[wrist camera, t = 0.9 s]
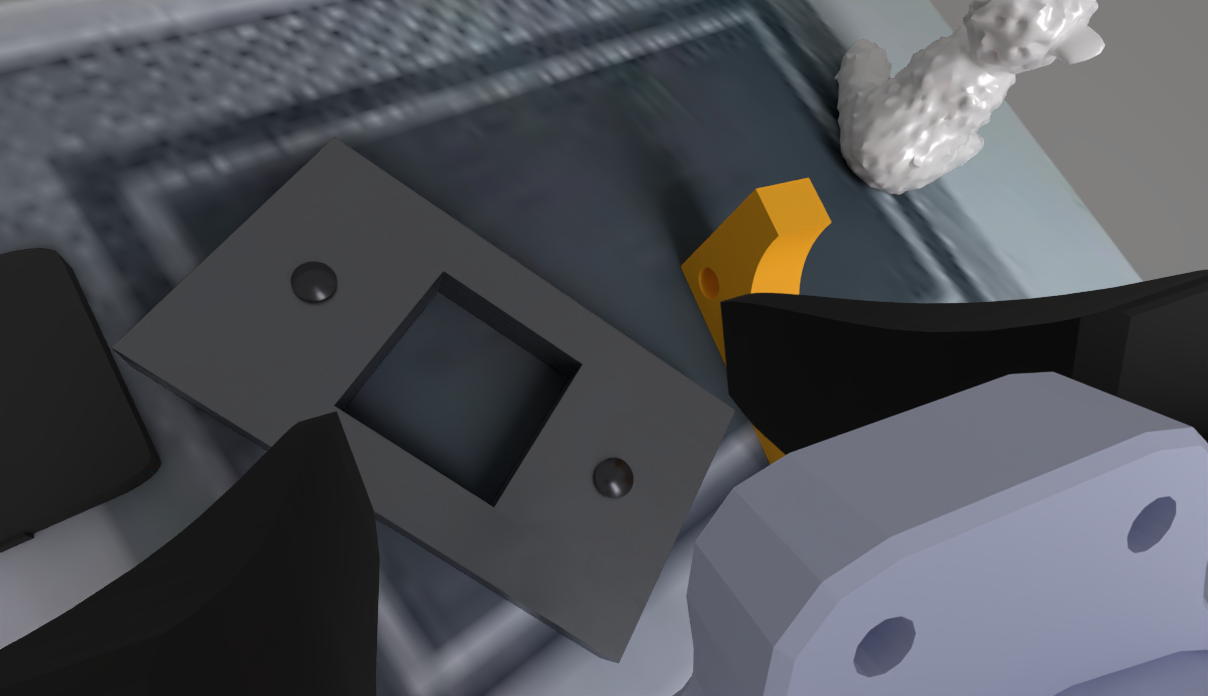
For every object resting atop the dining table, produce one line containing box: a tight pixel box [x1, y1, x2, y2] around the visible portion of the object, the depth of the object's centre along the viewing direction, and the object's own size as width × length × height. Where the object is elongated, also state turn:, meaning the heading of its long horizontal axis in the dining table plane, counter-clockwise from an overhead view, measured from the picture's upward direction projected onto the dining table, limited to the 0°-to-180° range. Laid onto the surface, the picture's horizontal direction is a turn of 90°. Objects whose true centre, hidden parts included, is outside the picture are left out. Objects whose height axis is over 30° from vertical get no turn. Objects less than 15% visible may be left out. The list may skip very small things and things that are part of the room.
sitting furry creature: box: [835, 0, 1105, 195], centre depth 31 cm, size 10×9×12 cm
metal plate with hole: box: [112, 137, 735, 663], centre depth 23 cm, size 10×18×2 cm, turn 60°
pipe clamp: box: [681, 178, 831, 465], centre depth 26 cm, size 12×4×6 cm, turn 23°
